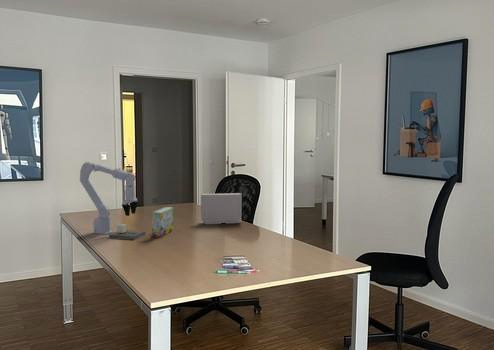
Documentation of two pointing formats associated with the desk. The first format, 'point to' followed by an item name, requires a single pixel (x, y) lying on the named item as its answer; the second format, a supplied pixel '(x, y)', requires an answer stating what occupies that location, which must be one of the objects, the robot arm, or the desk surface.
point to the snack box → (162, 222)
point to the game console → (221, 208)
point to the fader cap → (121, 228)
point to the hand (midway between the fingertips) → (130, 214)
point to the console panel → (128, 235)
